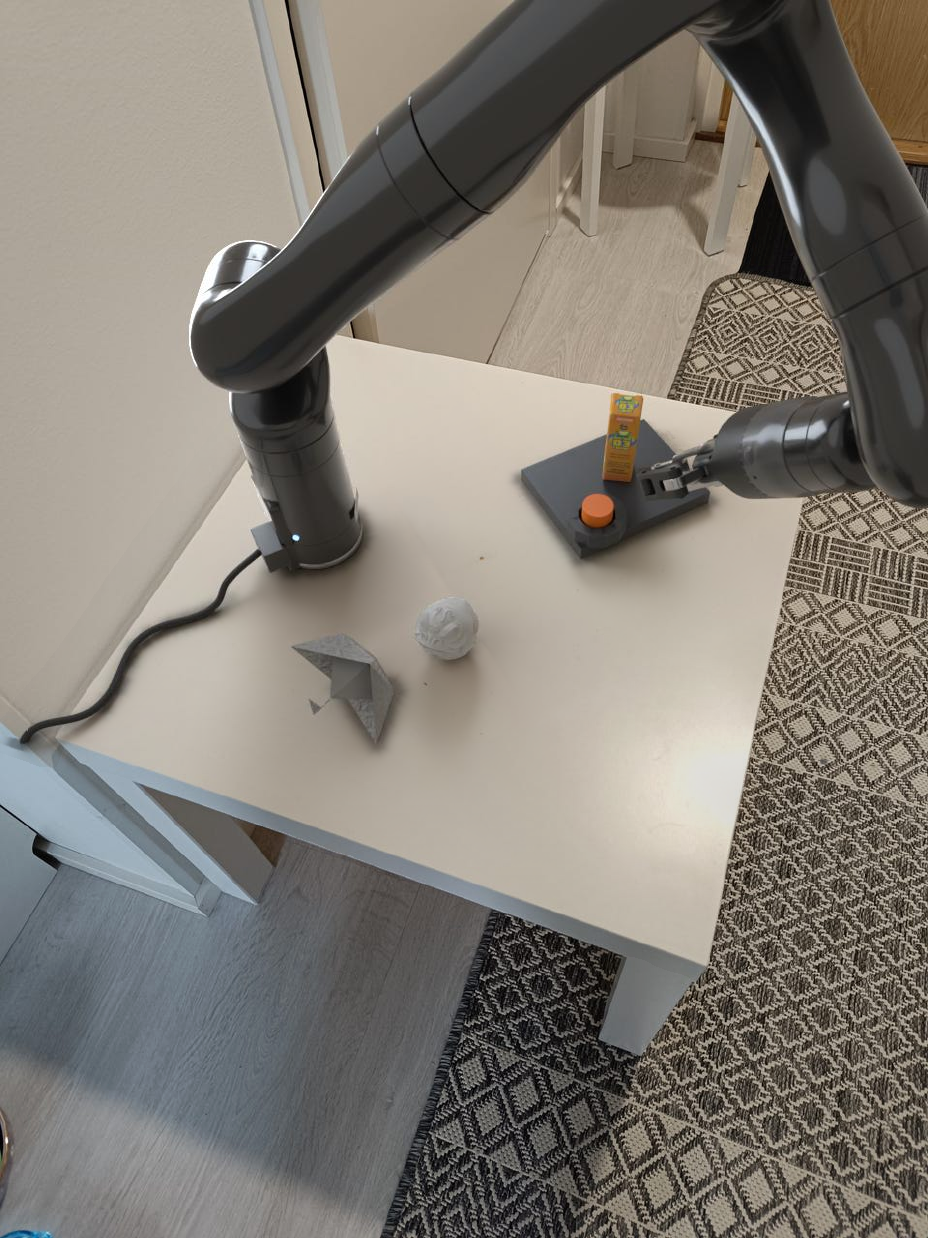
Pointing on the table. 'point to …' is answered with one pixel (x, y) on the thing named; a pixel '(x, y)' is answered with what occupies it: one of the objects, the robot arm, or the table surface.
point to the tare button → (597, 510)
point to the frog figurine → (447, 628)
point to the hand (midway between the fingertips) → (681, 461)
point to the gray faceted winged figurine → (351, 678)
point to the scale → (604, 492)
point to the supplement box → (622, 436)
